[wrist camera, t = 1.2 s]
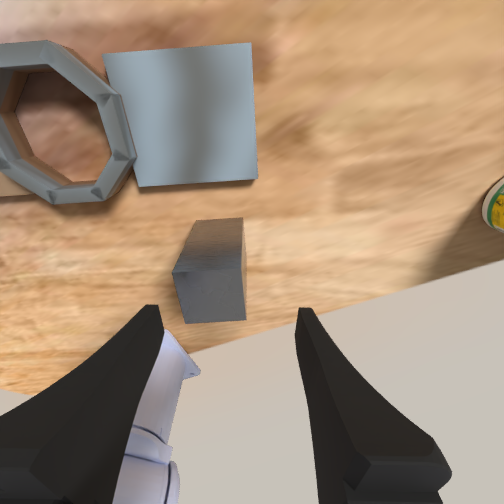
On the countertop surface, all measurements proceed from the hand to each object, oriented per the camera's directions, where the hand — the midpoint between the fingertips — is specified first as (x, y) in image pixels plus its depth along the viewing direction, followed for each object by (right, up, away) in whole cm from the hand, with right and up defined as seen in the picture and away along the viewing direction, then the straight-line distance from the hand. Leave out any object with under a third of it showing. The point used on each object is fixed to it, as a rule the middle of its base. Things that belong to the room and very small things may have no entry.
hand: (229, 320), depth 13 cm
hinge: (-12, +12, +5) cm, 18 cm away
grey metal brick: (-1, +5, +9) cm, 11 cm away
